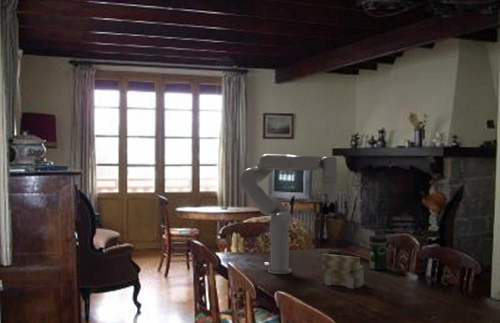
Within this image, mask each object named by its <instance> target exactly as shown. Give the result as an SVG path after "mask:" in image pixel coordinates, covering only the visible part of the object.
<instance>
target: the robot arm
mask: <svg viewBox="0 0 500 323" xmlns="http://www.w3.org/2000/svg"><path fill="white" fill-rule="evenodd" d="M337 160H338V159H337V157H336V156H317V155H294V154H290V153H288V154H287V153H286V154H284V153H265V154H262V156H261V157H260V158H259V163H258V164H257V165H256V166H254V167H248V168H245V170H244V171H242V174H241V177H240V186H241V188H242V191H243V192H244V194H246V196H247V198H249V199H250V201H251V202H252V204H254V205H255V207H256V208H257V209H258V210H259V212H260V213H261V214H263V215H265V216H270V217H271V218H270V220H269V229H270V230H269V231H270V262H266V261H265V262H264V263H263V264H264V267H266V268H267V273H270V274H273V275H286V274H290V273H292V269H291V268H289V261H290V260H289V257H290V254H289V250H290V249H289V246H290V245H289V239H290V238H289V236H290V235H289V229H288V228H289V227H291V226H292V224H293V222H294V221H293V220H294V219H293V215H292V214H291V213H290V211H289V210H288V208H286V206H284V205H283V203H282V202H281V201H280V200H279V199H278V198H277V197H275V196H270V195H268V194H267V193H266V192H265V191H264V189H263V188H262V187H261V186H259V185H258V183H260V182H262V181H263V180H265V179H266V178H267V177H268V176H269V175H271V173H273V172H274V171H304V172H305V171H306V172H307V171H309V172H313V171H314V172H315V171H321V183H322V184H321V194H320V195H321V198H320V201H321V203H322V215H325V216H327V215H328V216H329V215H330V214H333V213H334V214H335V213H336V199H337V192H336V191H337V188H336V187H337V186H336V184H337V183H338V181H337V178H338V176H337V174H338V172H337V170H338V169H337V166H338V164H337V162H338V161H337Z"/></svg>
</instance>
